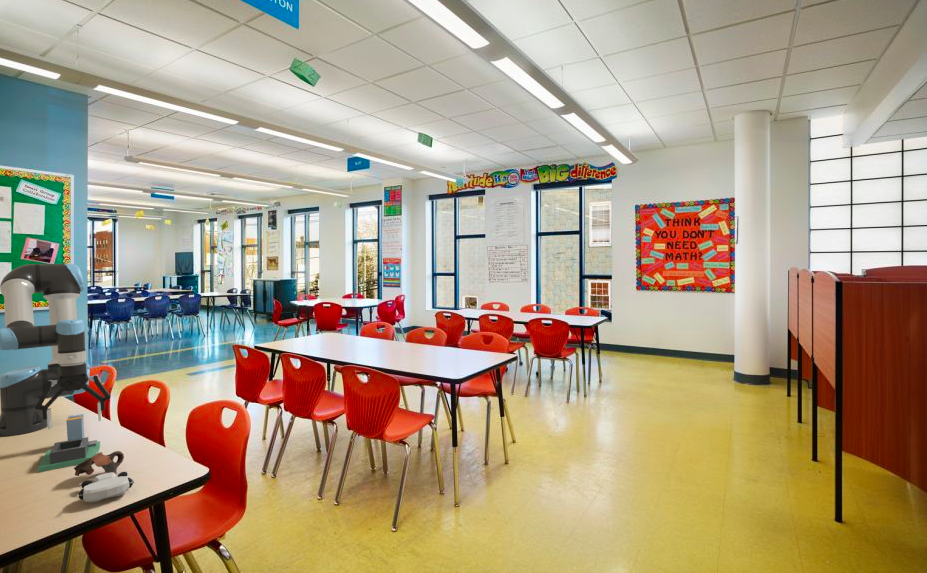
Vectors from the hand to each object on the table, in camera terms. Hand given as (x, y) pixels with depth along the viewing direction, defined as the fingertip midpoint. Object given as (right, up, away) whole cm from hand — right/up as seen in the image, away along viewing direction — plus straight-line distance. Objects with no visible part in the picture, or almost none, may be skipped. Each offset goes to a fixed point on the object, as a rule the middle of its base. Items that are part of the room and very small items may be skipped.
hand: (75, 424), depth 163 cm
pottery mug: (+28, -9, -24) cm, 38 cm away
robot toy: (+38, -9, -35) cm, 52 cm away
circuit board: (+8, -8, -11) cm, 15 cm away
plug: (0, -7, +1) cm, 7 cm away
